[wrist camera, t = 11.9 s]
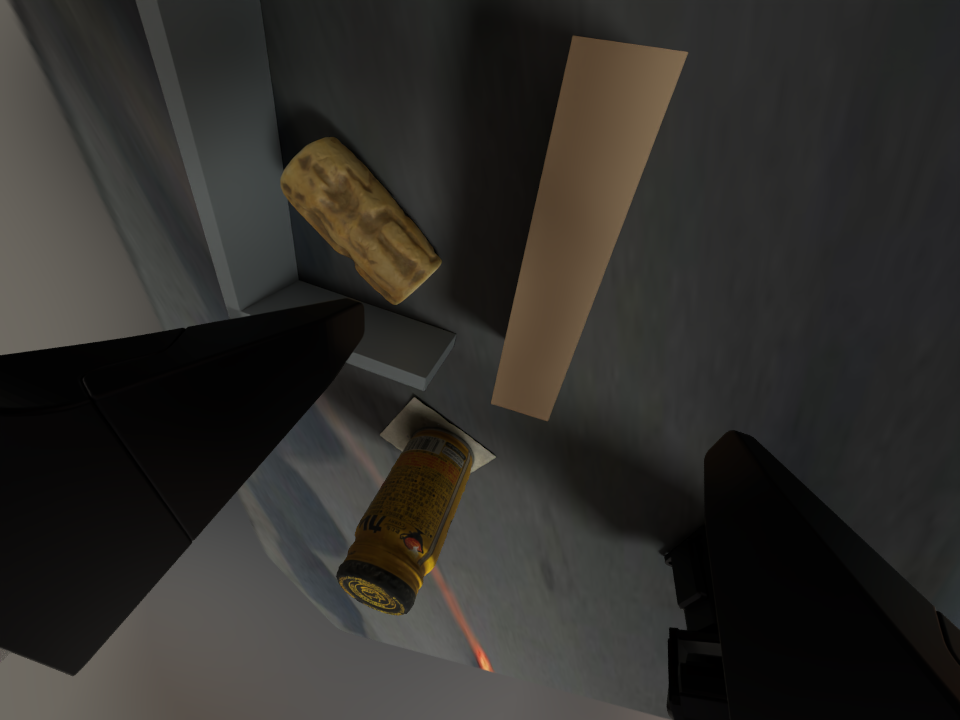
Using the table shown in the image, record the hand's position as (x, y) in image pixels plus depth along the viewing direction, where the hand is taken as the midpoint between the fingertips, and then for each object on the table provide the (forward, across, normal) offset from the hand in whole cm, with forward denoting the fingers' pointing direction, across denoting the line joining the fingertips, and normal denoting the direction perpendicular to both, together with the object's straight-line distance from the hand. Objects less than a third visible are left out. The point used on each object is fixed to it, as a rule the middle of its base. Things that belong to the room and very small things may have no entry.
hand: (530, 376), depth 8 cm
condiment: (+12, +5, +20) cm, 24 cm away
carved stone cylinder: (+12, +11, +2) cm, 16 cm away
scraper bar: (+12, 0, 0) cm, 12 cm away
